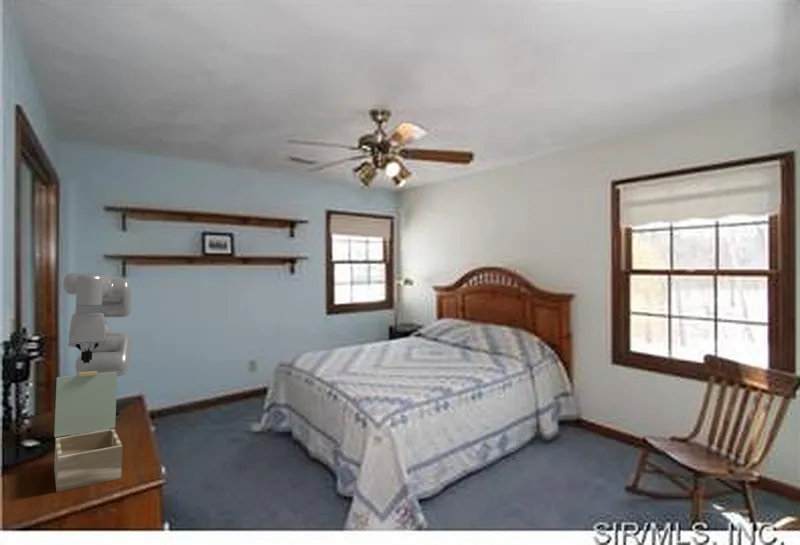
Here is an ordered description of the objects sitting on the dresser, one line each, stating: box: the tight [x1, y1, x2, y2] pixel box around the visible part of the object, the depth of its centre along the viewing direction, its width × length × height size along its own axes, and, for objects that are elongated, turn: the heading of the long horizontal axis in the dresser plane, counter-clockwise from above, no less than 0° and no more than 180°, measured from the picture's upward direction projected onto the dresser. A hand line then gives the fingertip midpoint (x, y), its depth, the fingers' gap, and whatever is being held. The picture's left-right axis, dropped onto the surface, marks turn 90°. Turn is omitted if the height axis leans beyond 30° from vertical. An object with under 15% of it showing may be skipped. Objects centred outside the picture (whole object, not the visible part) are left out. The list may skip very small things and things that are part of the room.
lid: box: [53, 371, 118, 438], centre depth 148 cm, size 20×17×3 cm
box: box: [53, 428, 124, 493], centre depth 140 cm, size 18×16×10 cm
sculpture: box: [116, 400, 134, 419], centre depth 198 cm, size 9×30×6 cm, turn 18°
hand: (86, 362), depth 154 cm, fingers closed
